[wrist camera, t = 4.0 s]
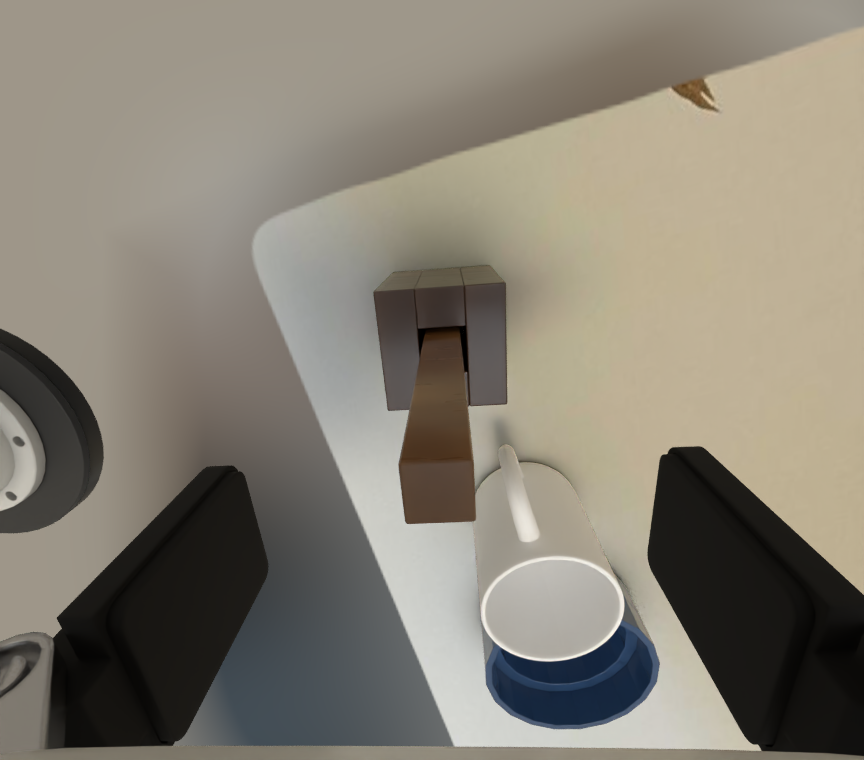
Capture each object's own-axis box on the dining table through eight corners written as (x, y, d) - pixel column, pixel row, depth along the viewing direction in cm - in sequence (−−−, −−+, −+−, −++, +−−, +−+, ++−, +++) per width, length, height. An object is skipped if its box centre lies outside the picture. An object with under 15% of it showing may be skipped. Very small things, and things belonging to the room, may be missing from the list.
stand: (402, 363, 30) (387, 411, 23) (392, 272, 28) (373, 291, 21) (492, 358, 30) (507, 404, 23) (490, 264, 28) (505, 282, 20)
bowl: (482, 659, 41) (488, 730, 35) (477, 552, 36) (482, 614, 31) (621, 657, 40) (649, 728, 34) (634, 547, 35) (669, 609, 30)
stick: (432, 330, 29) (405, 525, 11) (430, 304, 29) (397, 463, 10) (458, 328, 29) (476, 522, 11) (456, 302, 29) (473, 460, 10)
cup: (487, 553, 36) (501, 672, 27) (444, 434, 32) (442, 523, 23) (584, 531, 35) (635, 647, 26) (552, 403, 31) (598, 485, 22)
